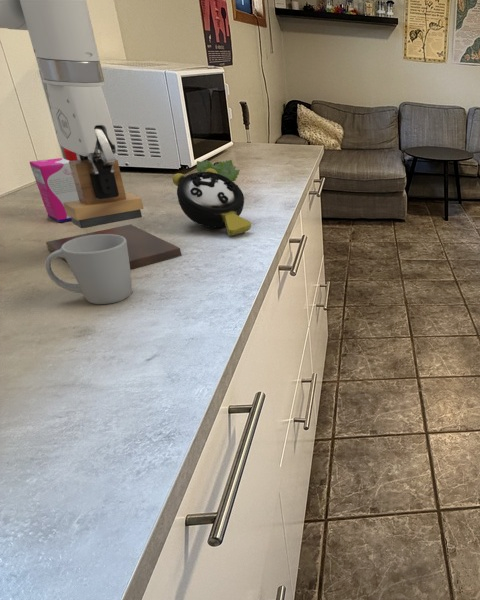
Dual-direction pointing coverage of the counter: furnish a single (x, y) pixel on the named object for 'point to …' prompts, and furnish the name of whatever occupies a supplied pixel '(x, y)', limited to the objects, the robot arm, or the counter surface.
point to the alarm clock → (211, 200)
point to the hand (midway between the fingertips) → (103, 194)
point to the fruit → (220, 168)
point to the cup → (96, 267)
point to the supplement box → (55, 186)
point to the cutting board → (132, 245)
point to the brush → (99, 210)
